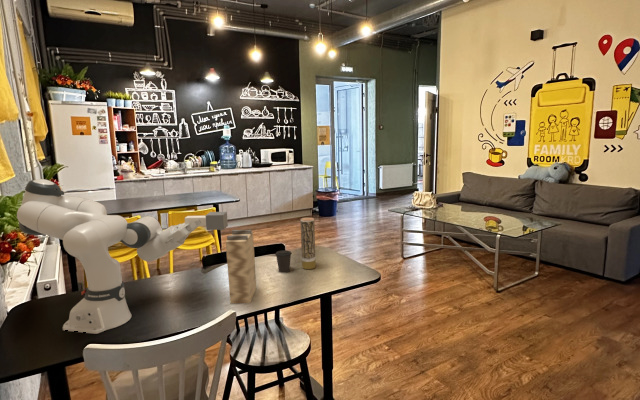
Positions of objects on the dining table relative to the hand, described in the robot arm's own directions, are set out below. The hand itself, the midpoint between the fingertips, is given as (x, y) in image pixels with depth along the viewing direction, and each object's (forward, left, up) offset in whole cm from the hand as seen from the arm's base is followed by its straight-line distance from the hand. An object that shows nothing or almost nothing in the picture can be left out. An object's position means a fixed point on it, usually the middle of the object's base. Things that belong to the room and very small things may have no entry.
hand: (201, 219), depth 156 cm
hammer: (+2, 0, -3) cm, 4 cm away
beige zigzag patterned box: (+15, 0, -33) cm, 37 cm away
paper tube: (+41, +32, -34) cm, 62 cm away
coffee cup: (+29, +28, -34) cm, 53 cm away
